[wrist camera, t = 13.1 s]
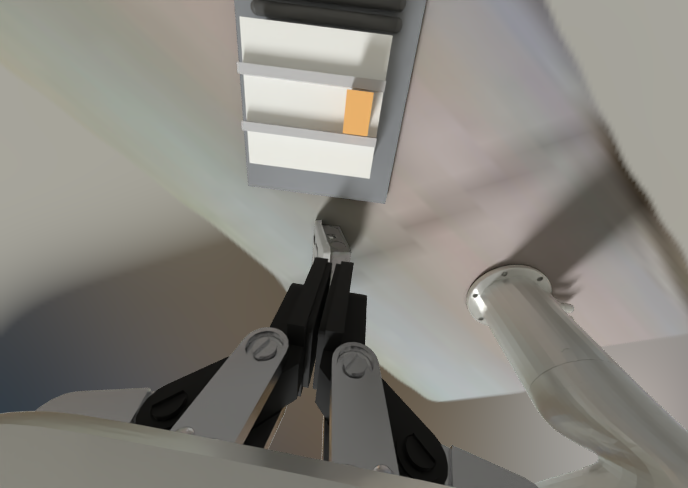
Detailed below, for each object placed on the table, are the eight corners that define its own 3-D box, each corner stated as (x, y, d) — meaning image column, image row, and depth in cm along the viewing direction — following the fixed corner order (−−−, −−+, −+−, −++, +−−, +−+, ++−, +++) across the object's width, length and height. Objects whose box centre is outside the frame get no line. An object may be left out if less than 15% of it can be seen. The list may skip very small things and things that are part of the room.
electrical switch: (315, 217, 37) (309, 247, 29) (349, 220, 38) (352, 251, 29) (311, 268, 42) (305, 307, 34) (342, 270, 42) (343, 309, 34)
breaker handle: (371, 96, 23) (373, 92, 18) (366, 131, 24) (367, 136, 20) (350, 93, 23) (346, 89, 18) (346, 129, 24) (342, 133, 20)
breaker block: (423, 2, 25) (449, -45, 17) (384, 200, 35) (389, 225, 27) (239, -21, 25) (184, -78, 18) (252, 182, 35) (221, 202, 28)
